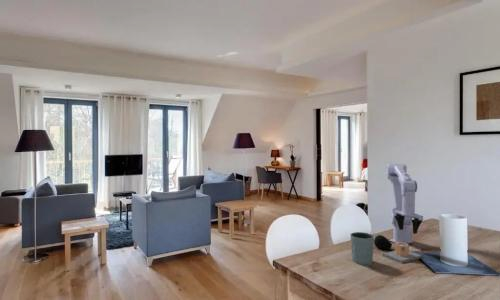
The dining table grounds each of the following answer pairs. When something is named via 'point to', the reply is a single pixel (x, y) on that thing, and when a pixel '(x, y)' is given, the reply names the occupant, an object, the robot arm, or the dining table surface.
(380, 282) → the dining table surface
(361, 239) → the green cup
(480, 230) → the dining table surface
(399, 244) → the collar
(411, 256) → the duct plate
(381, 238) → the light bulb
